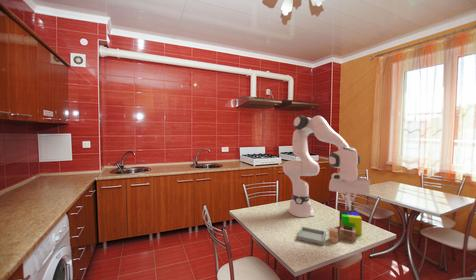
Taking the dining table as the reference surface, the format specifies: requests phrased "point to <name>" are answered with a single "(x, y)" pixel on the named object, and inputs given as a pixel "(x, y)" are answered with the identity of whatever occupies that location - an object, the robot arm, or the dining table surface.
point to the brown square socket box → (348, 233)
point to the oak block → (333, 235)
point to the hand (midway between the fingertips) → (348, 200)
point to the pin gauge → (348, 201)
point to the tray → (311, 235)
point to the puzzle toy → (351, 220)
